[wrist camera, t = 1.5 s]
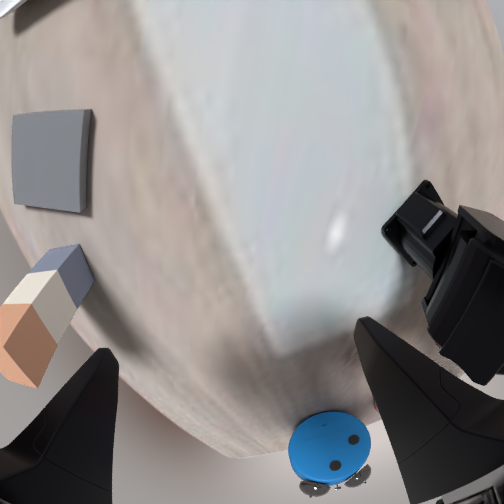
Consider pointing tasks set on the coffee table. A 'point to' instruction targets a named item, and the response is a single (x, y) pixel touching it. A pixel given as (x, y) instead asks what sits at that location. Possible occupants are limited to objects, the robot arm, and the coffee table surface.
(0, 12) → the salad plate
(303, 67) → the coffee table surface
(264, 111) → the coffee table surface
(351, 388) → the coffee table surface
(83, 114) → the baseplate
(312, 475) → the alarm clock
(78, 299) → the brick stack
